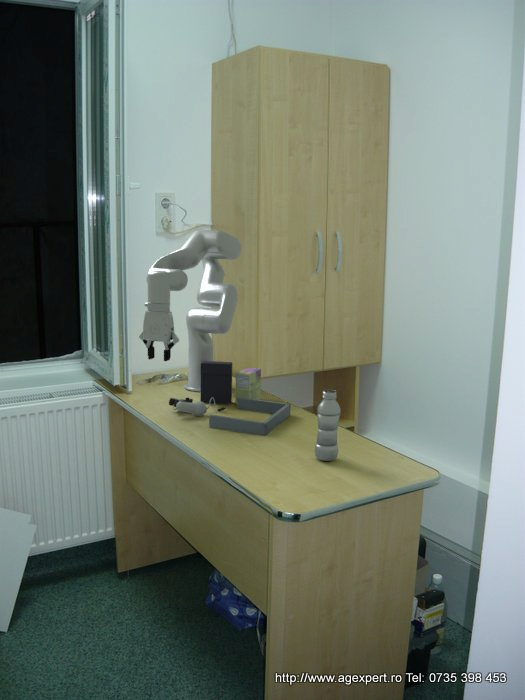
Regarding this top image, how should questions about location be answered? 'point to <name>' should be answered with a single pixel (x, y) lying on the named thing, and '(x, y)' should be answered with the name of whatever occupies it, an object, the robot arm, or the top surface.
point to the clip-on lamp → (191, 406)
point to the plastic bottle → (327, 427)
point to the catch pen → (249, 426)
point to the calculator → (216, 382)
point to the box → (248, 384)
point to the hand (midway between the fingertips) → (159, 359)
